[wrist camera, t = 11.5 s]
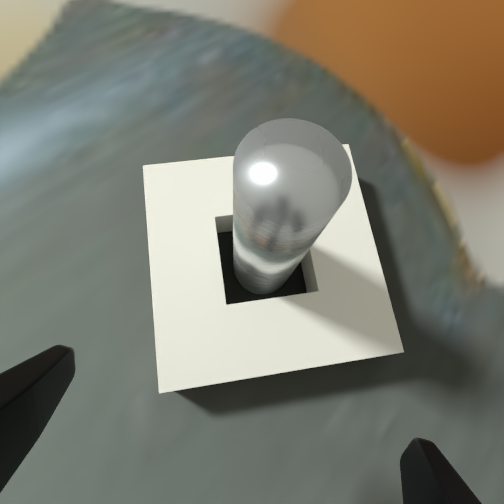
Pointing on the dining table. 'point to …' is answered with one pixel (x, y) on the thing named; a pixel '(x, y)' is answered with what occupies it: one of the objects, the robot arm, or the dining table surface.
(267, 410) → the dining table surface
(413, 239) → the dining table surface
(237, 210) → the metal peg
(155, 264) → the bore plate
